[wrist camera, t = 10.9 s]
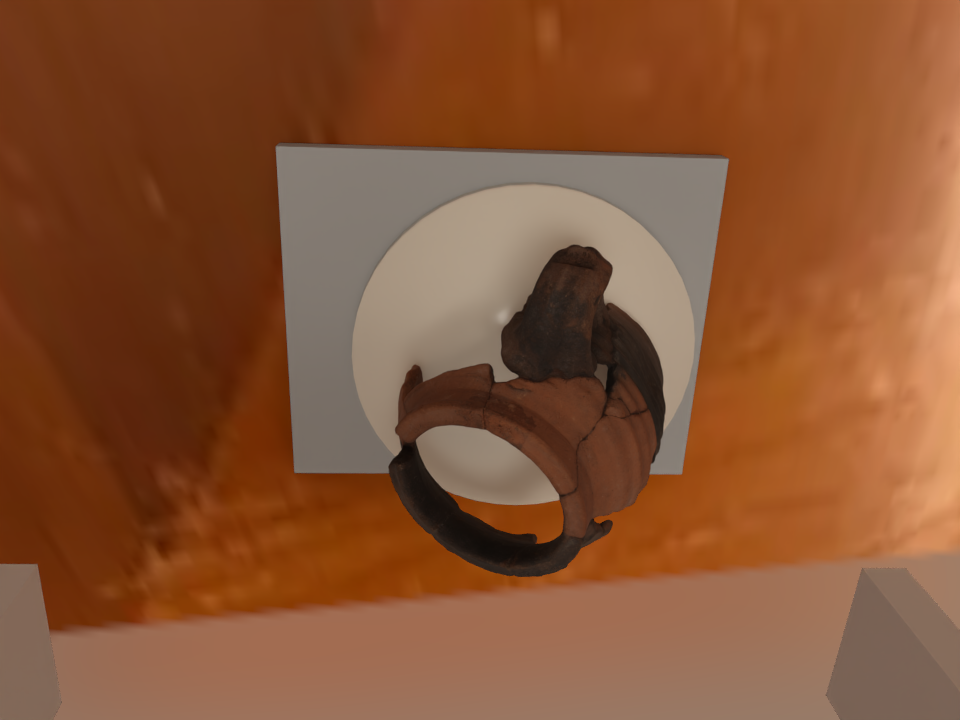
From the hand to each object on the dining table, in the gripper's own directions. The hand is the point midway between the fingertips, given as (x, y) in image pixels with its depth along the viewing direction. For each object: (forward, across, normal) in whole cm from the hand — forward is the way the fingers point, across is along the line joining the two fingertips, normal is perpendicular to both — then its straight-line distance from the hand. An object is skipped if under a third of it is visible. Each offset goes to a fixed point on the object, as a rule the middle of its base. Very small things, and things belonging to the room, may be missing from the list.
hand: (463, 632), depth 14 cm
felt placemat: (+20, +2, -2) cm, 20 cm away
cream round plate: (+19, +4, -3) cm, 20 cm away
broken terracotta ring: (+18, +4, -3) cm, 19 cm away
